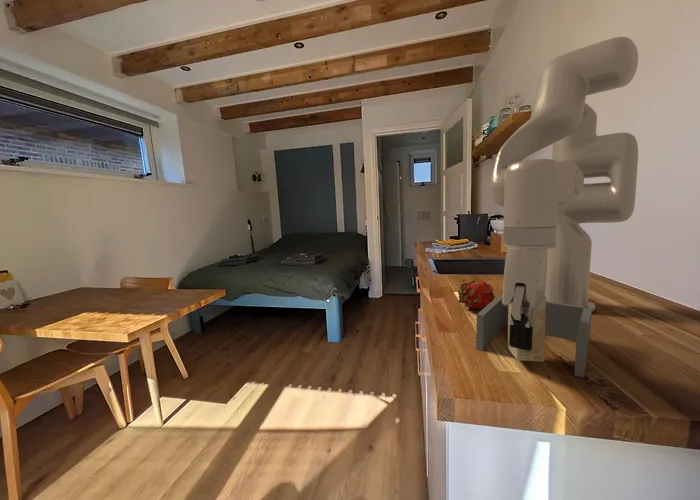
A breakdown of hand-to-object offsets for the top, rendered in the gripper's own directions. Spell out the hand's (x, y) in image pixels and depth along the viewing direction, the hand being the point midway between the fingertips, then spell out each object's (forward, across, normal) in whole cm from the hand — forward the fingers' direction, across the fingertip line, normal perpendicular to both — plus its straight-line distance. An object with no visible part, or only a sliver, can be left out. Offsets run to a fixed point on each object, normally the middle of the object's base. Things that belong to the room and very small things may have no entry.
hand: (525, 339), depth 51 cm
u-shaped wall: (+4, -8, 0) cm, 9 cm away
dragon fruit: (+4, -24, -16) cm, 29 cm away
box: (+3, 0, 0) cm, 3 cm away
